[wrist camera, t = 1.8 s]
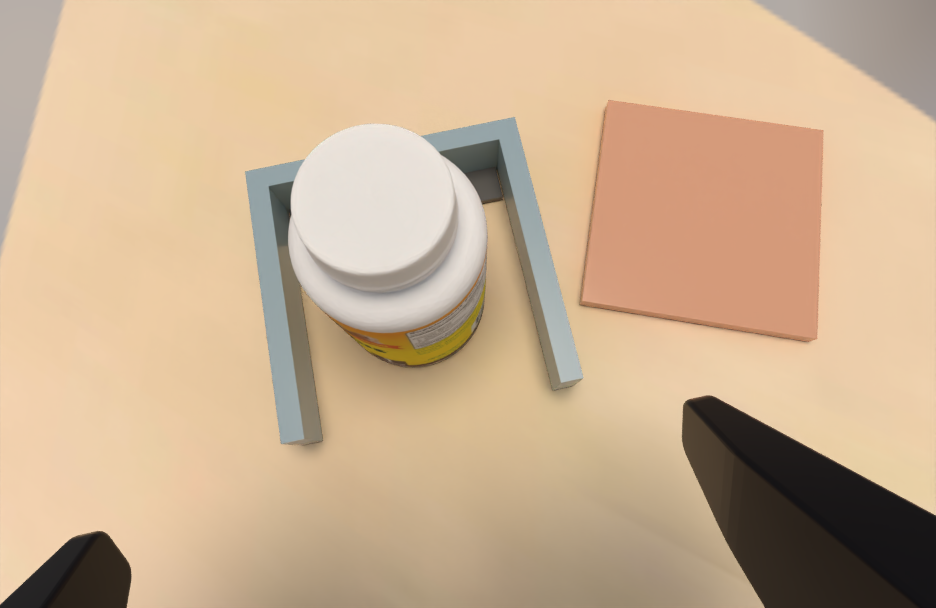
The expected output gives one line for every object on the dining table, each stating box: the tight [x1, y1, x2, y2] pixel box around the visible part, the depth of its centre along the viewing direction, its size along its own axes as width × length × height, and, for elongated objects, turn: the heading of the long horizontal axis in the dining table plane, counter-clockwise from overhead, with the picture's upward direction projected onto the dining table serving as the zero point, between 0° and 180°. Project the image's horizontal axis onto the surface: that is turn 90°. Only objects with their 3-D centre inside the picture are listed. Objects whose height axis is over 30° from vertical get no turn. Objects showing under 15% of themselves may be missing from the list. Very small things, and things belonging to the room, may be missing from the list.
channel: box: [245, 117, 583, 445], centre depth 23 cm, size 10×11×2 cm
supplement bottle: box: [288, 124, 488, 367], centre depth 19 cm, size 6×6×10 cm
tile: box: [580, 100, 823, 342], centre depth 24 cm, size 9×9×1 cm
